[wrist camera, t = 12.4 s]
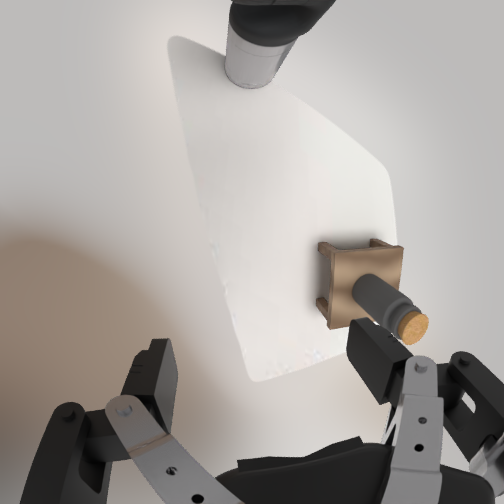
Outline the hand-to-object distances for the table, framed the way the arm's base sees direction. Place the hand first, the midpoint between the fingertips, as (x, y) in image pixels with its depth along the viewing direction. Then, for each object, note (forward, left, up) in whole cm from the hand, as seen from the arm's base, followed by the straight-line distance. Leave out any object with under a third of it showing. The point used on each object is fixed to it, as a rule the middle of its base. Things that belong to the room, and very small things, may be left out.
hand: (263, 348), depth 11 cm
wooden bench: (+12, +23, -38) cm, 46 cm away
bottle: (+12, +22, -29) cm, 39 cm away
